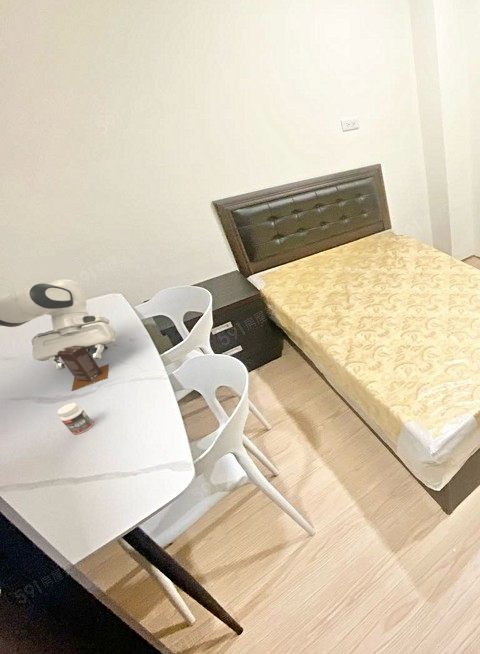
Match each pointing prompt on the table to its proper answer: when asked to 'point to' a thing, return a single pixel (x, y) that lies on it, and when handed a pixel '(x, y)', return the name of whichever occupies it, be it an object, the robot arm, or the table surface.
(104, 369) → the coaster
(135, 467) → the table surface
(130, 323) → the table surface
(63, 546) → the table surface
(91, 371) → the box
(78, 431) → the pill bottle
